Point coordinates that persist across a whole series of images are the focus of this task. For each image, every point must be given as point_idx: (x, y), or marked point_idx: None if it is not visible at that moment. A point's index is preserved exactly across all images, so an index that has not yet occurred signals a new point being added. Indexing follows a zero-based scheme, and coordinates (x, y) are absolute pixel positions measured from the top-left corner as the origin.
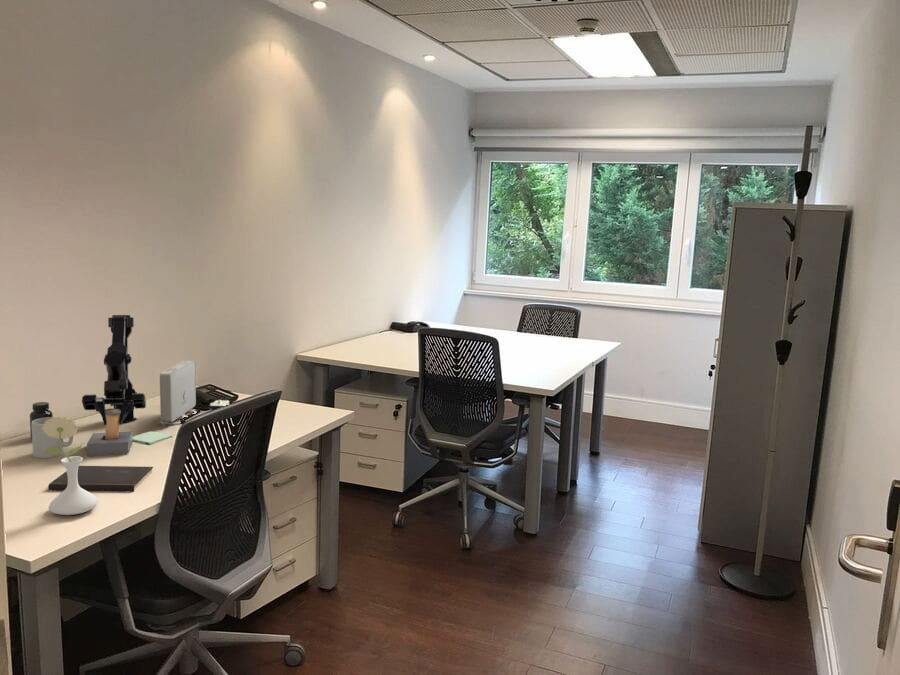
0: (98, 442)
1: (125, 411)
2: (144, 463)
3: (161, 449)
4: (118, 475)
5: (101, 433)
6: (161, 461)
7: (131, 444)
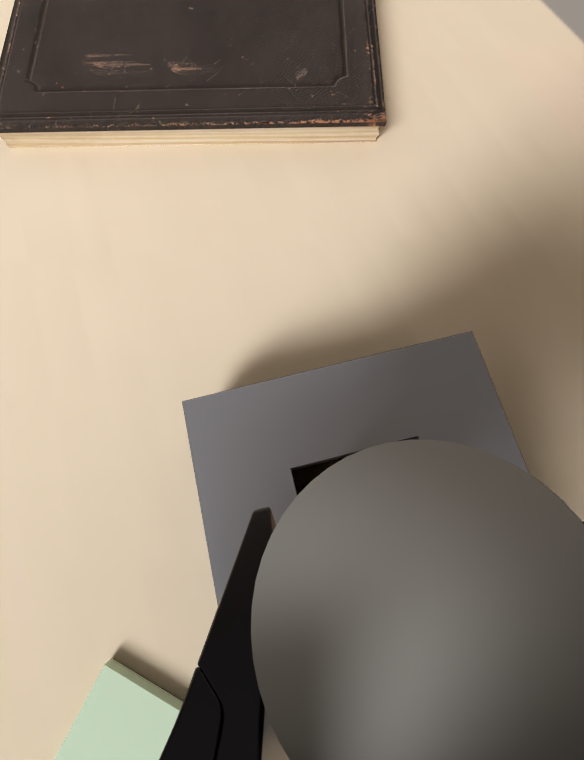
0: (403, 372)
1: (175, 730)
2: (70, 262)
3: (12, 532)
4: (120, 22)
5: None
6: None
7: None
